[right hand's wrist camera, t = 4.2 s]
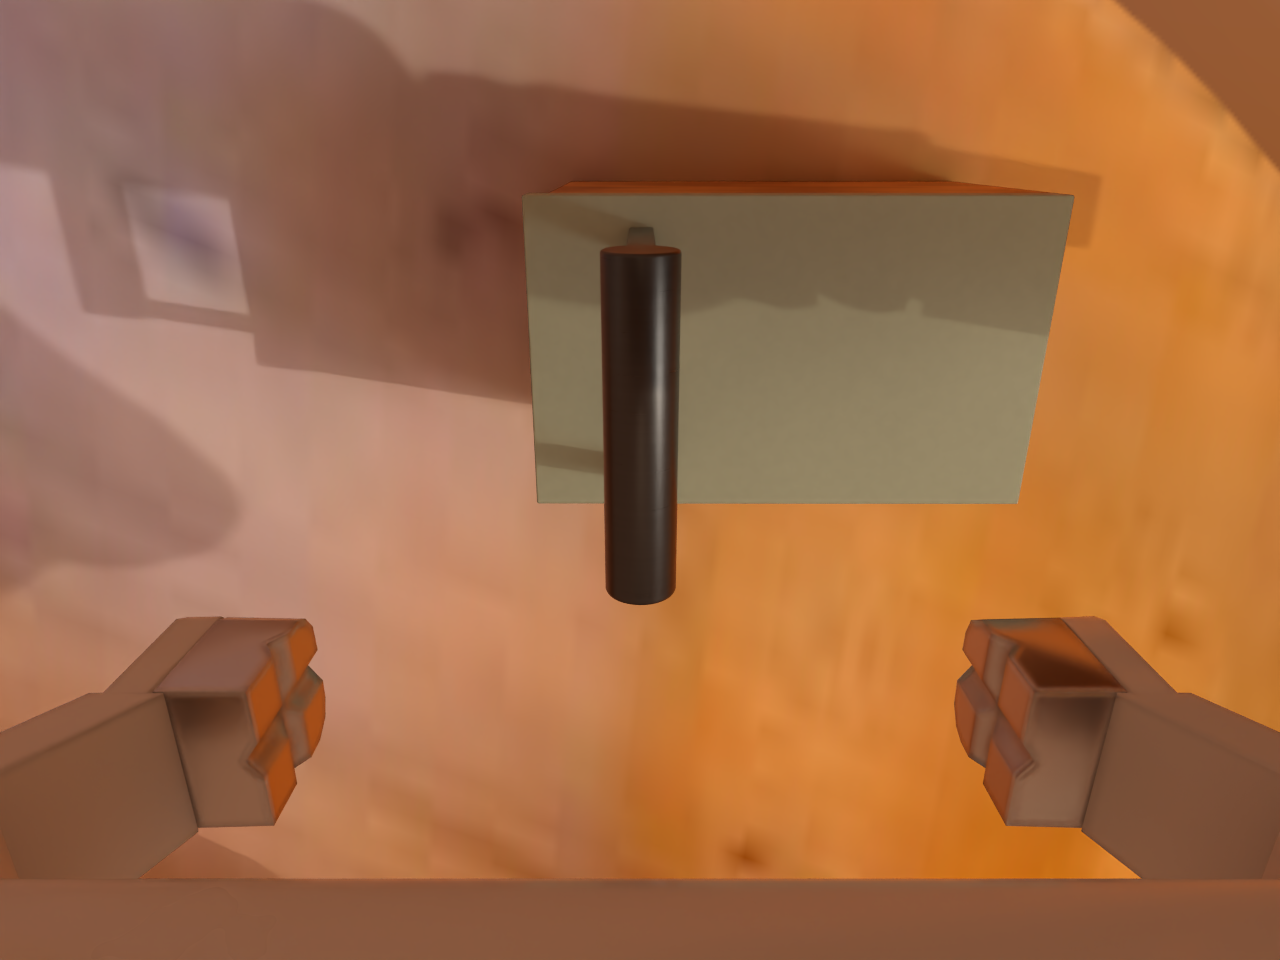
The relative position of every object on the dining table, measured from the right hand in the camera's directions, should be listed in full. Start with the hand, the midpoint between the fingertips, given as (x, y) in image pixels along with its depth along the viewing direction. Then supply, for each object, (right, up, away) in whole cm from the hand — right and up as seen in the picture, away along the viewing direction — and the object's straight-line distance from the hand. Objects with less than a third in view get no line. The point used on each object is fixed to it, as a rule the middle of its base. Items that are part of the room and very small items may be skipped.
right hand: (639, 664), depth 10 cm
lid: (+4, +6, +16) cm, 17 cm away
